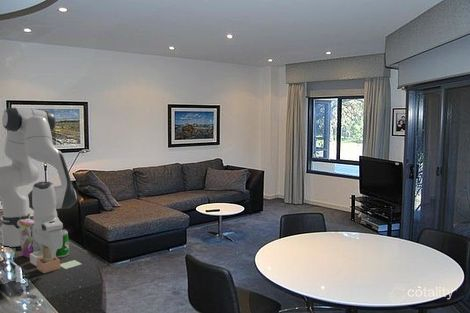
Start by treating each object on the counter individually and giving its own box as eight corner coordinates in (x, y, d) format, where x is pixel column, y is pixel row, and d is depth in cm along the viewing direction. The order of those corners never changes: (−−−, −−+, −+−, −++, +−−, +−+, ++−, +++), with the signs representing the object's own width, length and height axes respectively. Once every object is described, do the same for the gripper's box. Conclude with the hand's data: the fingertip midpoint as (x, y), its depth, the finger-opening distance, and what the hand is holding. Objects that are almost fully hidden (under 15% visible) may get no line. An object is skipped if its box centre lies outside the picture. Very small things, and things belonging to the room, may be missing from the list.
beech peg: (42, 268, 166) (40, 245, 165) (51, 266, 169) (49, 243, 168) (46, 271, 164) (44, 247, 163) (55, 268, 167) (53, 245, 166)
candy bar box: (20, 255, 184) (18, 220, 182) (31, 252, 188) (29, 218, 186) (33, 261, 177) (30, 224, 175) (44, 257, 181) (41, 221, 179)
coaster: (58, 266, 171) (58, 264, 171) (74, 261, 176) (74, 260, 176) (65, 270, 166) (65, 268, 166) (82, 265, 171) (82, 264, 171)
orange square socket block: (37, 270, 166) (36, 259, 166) (53, 265, 171) (52, 255, 171) (44, 274, 162) (43, 263, 161) (60, 269, 167) (59, 259, 166)
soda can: (62, 260, 178) (60, 233, 176) (47, 259, 179) (45, 232, 178) (72, 254, 185) (71, 228, 184) (58, 253, 186) (56, 227, 185)
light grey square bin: (30, 263, 174) (29, 253, 173) (46, 259, 179) (45, 249, 178) (36, 267, 170) (35, 257, 169) (52, 263, 174) (51, 253, 174)
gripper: (27, 219, 169) (30, 251, 171) (48, 228, 155) (51, 263, 157) (43, 216, 174) (45, 247, 175) (64, 224, 160) (67, 258, 161)
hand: (48, 255), depth 166 cm, fingers open, 7 cm apart
